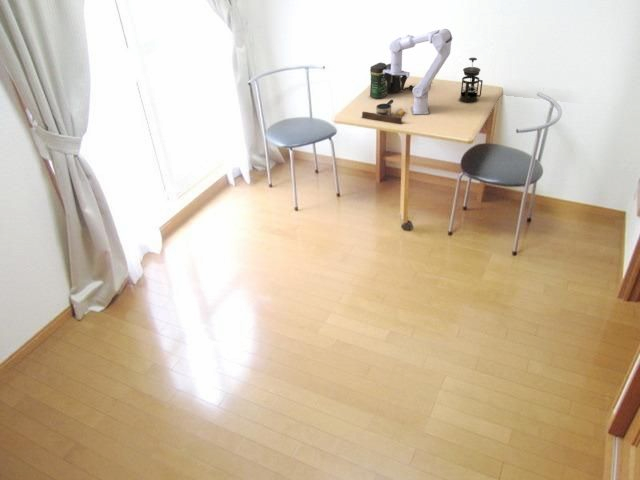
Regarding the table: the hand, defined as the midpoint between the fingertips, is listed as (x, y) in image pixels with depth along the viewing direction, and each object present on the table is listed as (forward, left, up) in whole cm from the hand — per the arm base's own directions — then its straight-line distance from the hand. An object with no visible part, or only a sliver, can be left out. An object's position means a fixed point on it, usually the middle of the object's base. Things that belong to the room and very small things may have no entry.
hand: (395, 88), depth 279 cm
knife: (+14, +1, -10) cm, 17 cm away
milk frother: (-23, +4, -11) cm, 26 cm away
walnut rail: (+18, -8, -10) cm, 22 cm away
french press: (-5, +41, -11) cm, 43 cm away
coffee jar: (-16, -9, -11) cm, 21 cm away
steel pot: (+9, -5, -10) cm, 15 cm away
